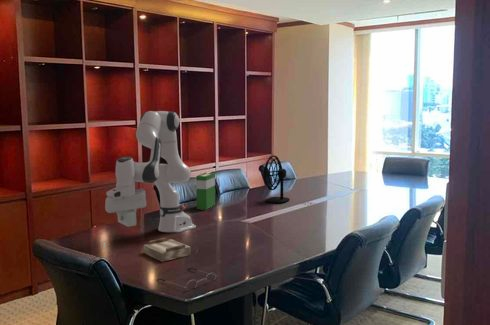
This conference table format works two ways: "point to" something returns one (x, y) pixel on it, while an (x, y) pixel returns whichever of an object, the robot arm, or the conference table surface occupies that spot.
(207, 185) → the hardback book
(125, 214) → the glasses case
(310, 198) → the conference table surface
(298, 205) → the conference table surface
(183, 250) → the display stand
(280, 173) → the desk fan
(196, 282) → the eyeglasses
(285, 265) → the conference table surface
